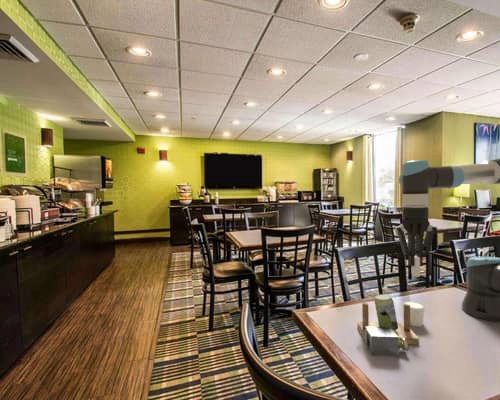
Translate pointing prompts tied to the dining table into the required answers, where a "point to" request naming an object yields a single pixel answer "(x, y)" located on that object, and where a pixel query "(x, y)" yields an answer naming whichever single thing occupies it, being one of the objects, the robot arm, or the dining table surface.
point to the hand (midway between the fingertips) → (415, 275)
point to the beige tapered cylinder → (416, 313)
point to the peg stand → (401, 332)
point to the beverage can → (386, 311)
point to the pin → (403, 344)
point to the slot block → (381, 341)
